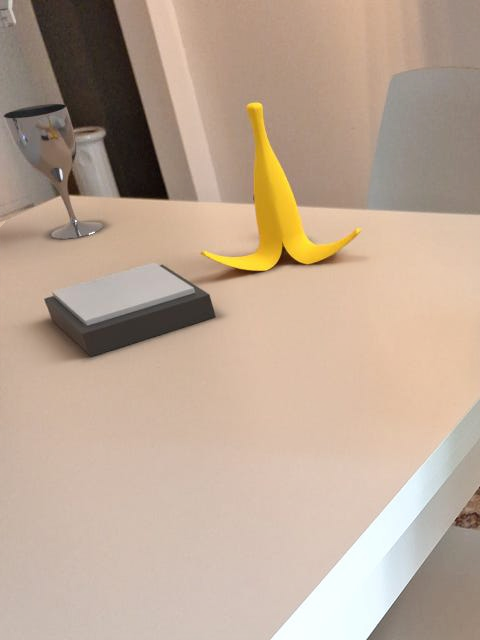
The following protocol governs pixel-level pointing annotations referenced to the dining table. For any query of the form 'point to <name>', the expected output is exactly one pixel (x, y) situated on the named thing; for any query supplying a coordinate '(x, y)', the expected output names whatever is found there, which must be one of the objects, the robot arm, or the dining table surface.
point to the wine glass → (50, 154)
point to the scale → (128, 307)
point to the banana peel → (276, 212)
